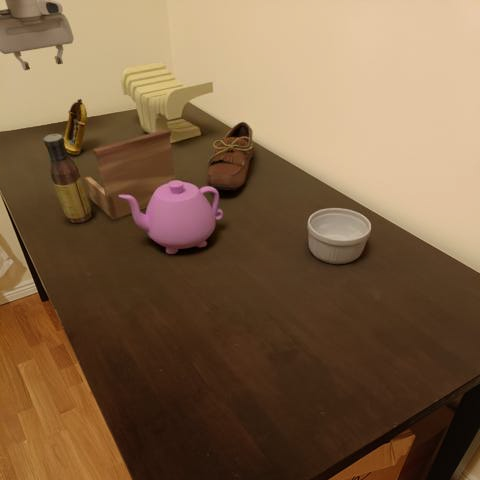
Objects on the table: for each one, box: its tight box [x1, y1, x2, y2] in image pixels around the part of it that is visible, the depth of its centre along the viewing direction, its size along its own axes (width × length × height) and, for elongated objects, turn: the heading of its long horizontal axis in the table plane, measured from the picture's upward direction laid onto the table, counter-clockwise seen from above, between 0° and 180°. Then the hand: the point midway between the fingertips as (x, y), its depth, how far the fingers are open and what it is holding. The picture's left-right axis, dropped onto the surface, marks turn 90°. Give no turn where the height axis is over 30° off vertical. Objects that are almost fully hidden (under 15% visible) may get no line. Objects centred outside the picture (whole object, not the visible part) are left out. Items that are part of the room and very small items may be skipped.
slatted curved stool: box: [120, 61, 214, 144], centre depth 138 cm, size 30×16×18 cm, turn 37°
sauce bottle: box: [43, 133, 93, 224], centre depth 98 cm, size 6×6×20 cm
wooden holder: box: [84, 129, 176, 221], centre depth 106 cm, size 14×19×17 cm
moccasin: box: [205, 121, 255, 191], centre depth 117 cm, size 31×12×12 cm, turn 158°
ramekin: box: [306, 207, 372, 265], centre depth 92 cm, size 13×13×7 cm
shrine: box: [63, 98, 88, 156], centre depth 129 cm, size 12×8×15 cm
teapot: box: [118, 179, 224, 255], centre depth 93 cm, size 22×16×14 cm
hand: (43, 66), depth 122 cm, fingers open, 8 cm apart
